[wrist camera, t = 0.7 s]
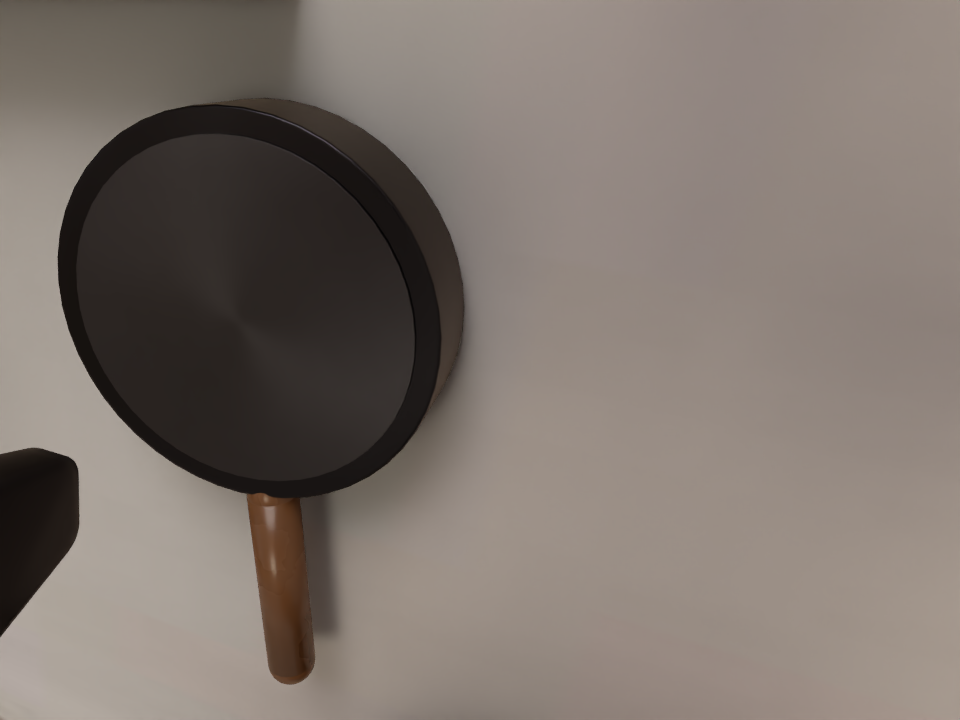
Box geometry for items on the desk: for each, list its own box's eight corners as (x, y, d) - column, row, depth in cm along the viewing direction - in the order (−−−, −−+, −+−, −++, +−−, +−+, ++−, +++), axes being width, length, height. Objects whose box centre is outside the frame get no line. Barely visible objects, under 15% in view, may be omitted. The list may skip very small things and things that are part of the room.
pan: (463, 660, 24) (444, 724, 22) (181, 613, 26) (136, 666, 24) (464, 102, 18) (437, 110, 15) (87, 93, 19) (12, 99, 17)
